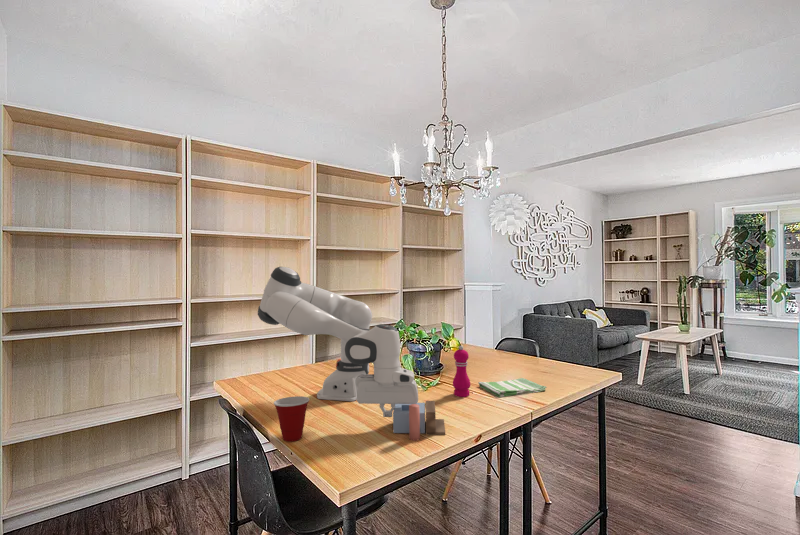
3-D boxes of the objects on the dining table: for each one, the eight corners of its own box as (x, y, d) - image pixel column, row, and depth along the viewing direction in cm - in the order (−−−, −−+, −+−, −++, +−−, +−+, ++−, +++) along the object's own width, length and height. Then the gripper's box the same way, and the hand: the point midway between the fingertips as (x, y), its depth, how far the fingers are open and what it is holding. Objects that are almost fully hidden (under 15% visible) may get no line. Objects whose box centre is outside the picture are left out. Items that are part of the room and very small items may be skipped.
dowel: (409, 440, 126) (408, 407, 126) (409, 436, 129) (409, 404, 129) (419, 440, 126) (419, 407, 126) (419, 436, 129) (419, 404, 129)
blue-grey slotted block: (393, 432, 131) (393, 412, 131) (395, 421, 141) (395, 402, 141) (425, 433, 131) (424, 413, 131) (425, 421, 141) (424, 402, 141)
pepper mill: (470, 397, 165) (469, 347, 165) (452, 397, 167) (451, 347, 167) (471, 392, 172) (470, 344, 172) (453, 391, 174) (452, 343, 174)
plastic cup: (306, 428, 136) (306, 392, 136) (313, 441, 126) (312, 401, 126) (272, 434, 132) (271, 396, 132) (276, 447, 122) (275, 407, 122)
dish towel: (548, 392, 173) (548, 385, 173) (500, 399, 165) (499, 392, 165) (521, 381, 190) (521, 375, 190) (476, 387, 182) (476, 380, 182)
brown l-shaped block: (426, 434, 130) (425, 412, 130) (426, 421, 141) (425, 400, 141) (445, 434, 130) (445, 412, 130) (443, 421, 141) (443, 400, 141)
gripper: (354, 376, 134) (354, 419, 134) (417, 377, 132) (418, 420, 132) (357, 371, 140) (358, 412, 140) (418, 372, 139) (418, 413, 139)
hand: (387, 416), depth 136 cm, fingers closed
